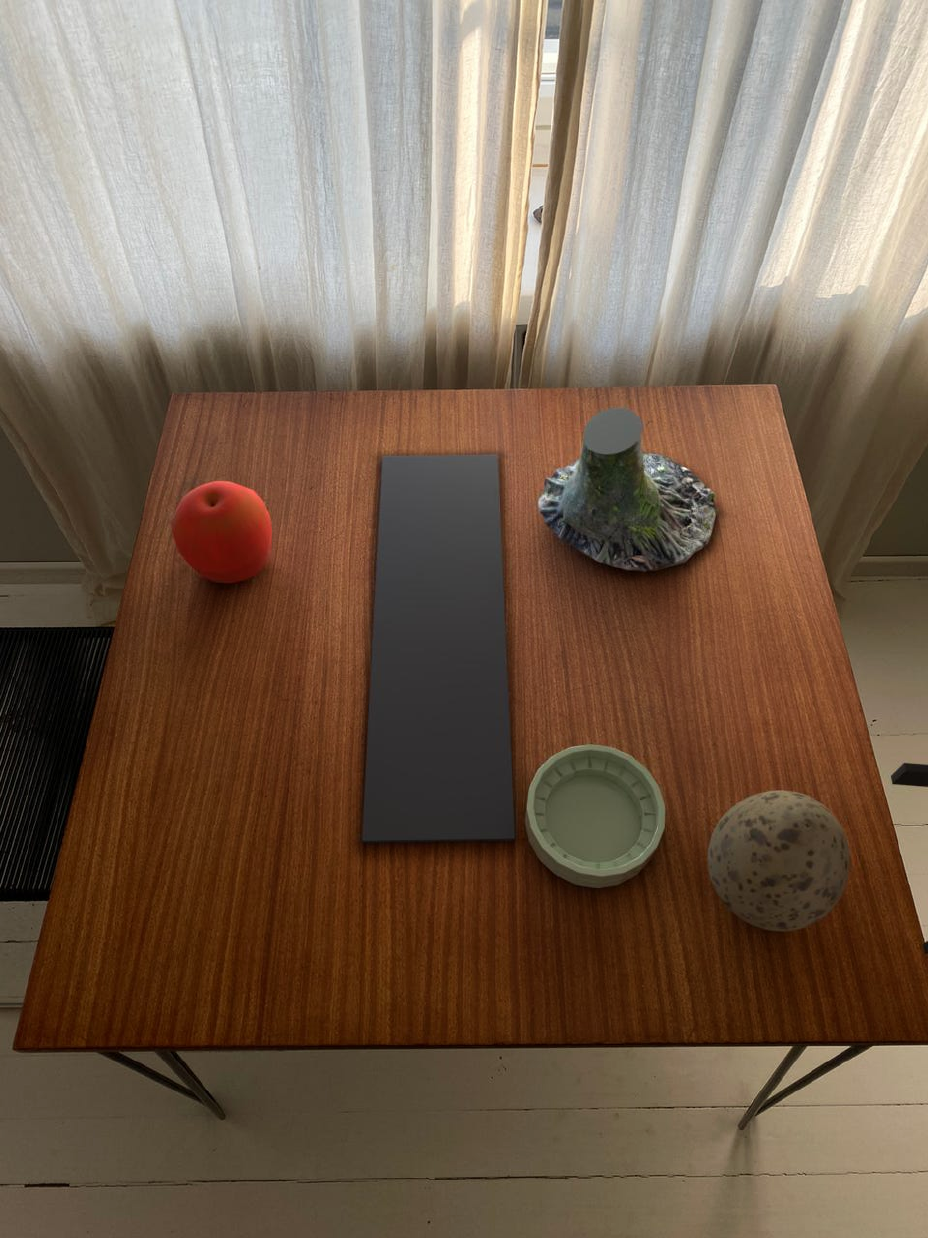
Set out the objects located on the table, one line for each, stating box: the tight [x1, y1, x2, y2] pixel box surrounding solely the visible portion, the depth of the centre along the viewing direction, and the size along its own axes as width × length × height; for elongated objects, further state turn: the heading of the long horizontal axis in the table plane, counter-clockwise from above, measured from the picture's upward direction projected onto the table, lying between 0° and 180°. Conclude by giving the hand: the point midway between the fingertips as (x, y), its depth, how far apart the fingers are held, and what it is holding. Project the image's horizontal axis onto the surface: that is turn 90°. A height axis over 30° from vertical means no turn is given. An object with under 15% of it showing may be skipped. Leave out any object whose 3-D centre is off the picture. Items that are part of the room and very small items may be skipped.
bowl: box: [524, 744, 666, 889], centre depth 79 cm, size 12×12×4 cm
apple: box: [170, 480, 273, 584], centre depth 93 cm, size 10×10×12 cm
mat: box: [361, 454, 516, 844], centre depth 93 cm, size 48×14×1 cm, turn 1°
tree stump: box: [537, 406, 718, 573], centre depth 95 cm, size 18×20×18 cm
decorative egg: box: [707, 789, 851, 932], centre depth 71 cm, size 11×11×15 cm
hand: (913, 854), depth 68 cm, fingers open, 13 cm apart
